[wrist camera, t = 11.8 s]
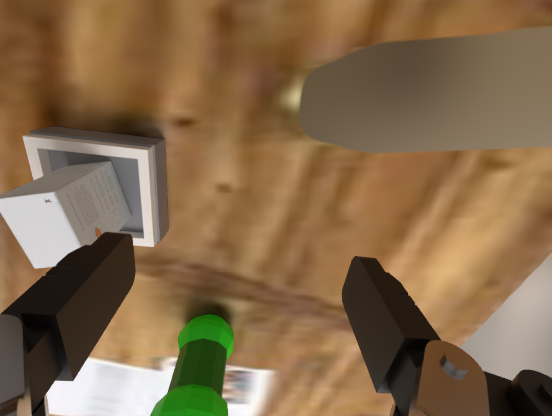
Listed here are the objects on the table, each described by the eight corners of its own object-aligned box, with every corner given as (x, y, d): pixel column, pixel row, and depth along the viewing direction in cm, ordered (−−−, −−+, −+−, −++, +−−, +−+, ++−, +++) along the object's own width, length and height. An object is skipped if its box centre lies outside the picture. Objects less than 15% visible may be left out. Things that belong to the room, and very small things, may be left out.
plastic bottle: (244, 336, 53) (232, 526, 30) (192, 347, 53) (143, 543, 30) (229, 298, 48) (202, 487, 26) (173, 310, 49) (99, 506, 26)
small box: (67, 164, 33) (-12, 197, 23) (112, 159, 33) (52, 189, 23) (92, 221, 36) (32, 270, 27) (133, 217, 36) (88, 264, 27)
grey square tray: (53, 126, 35) (18, 132, 30) (165, 139, 36) (150, 147, 31) (72, 221, 40) (46, 240, 35) (168, 229, 42) (156, 248, 37)
